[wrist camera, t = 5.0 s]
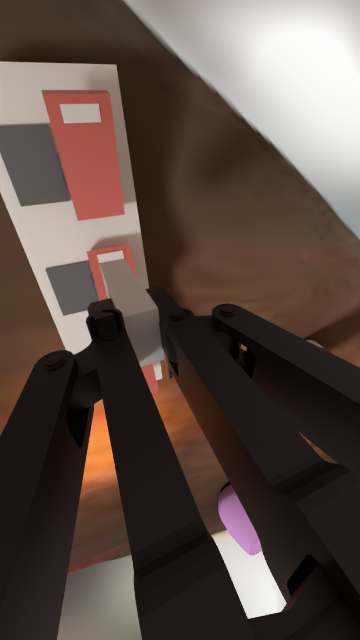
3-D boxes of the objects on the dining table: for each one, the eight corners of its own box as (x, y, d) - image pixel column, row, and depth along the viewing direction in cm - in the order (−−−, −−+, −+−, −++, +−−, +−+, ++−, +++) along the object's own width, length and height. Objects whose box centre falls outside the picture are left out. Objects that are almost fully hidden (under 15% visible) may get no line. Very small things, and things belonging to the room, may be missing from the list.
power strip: (99, 413, 36) (103, 444, 32) (-32, 80, 16) (-64, 53, 12) (159, 392, 38) (170, 419, 34) (107, 81, 19) (119, 58, 15)
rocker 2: (108, 331, 22) (109, 334, 21) (86, 252, 20) (86, 251, 19) (145, 321, 23) (148, 324, 22) (128, 245, 21) (129, 243, 20)
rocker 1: (76, 214, 18) (78, 221, 18) (41, 89, 13) (42, 94, 12) (121, 208, 19) (125, 215, 19) (106, 89, 14) (110, 93, 13)
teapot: (219, 515, 76) (248, 580, 64) (208, 490, 64) (241, 565, 52) (281, 478, 80) (319, 532, 68) (282, 447, 67) (328, 508, 56)
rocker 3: (126, 397, 27) (128, 403, 26) (111, 340, 25) (111, 343, 24) (156, 387, 28) (159, 392, 27) (143, 331, 26) (146, 334, 25)
